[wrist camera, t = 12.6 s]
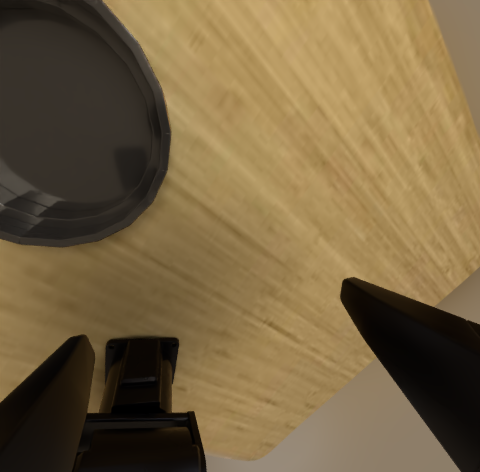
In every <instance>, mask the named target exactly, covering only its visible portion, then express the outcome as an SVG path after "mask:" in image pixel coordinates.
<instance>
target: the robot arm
mask: <svg viewBox="0 0 480 472" xmlns="http://www.w3.org/2000/svg"><path fill="white" fill-rule="evenodd" d="M340 299H341V302H342V304H343V305H344V307H345V309H346V310H347V312H348V314H349V316H350V317H351V319H352V321H353V322H354V324H355V326H356V327H357V329H358V331H359V332H360V334H361V335H362V337H363V338H364V340H365V341H366V343H367V344H368V346H369V347H370V348H371V350H372V351H373V352H374V354H375V355H376V356H377V358H378V359H379V360H380V362H381V363H382V365H383V366H384V367H385V369H386V370H387V371H388V373H389V374H390V376H391V377H392V378H393V380H394V381H395V382H396V384H397V385H398V386H399V388H400V389H401V390H402V392H403V393H404V395H405V396H406V397H407V399H408V400H409V401H410V403H411V404H412V406H413V407H414V408H415V410H416V411H417V412H418V414H419V415H420V417H421V418H422V419H423V420H424V422H425V423H426V425H427V426H428V427H429V429H430V430H431V431H432V433H433V434H434V436H435V437H436V438H437V440H438V441H439V442H440V444H441V445H442V446H443V448H444V449H445V450H446V452H447V453H448V455H449V456H450V457H451V459H452V460H453V461H454V463H455V464H456V466H457V467H458V468H459V470H460V471H461V472H480V324H477V323H474V322H472V321H469V320H467V321H466V320H465V319H464V318H461V317H458V316H456V315H453V314H450V313H448V312H445V311H443V310H440V309H437V308H435V307H432V306H429V305H427V304H424V303H421V302H419V301H416V300H413V299H411V298H408V297H405V296H403V295H400V294H398V293H395V292H392V291H390V290H387V289H384V288H382V287H379V286H376V285H374V284H371V283H368V282H366V281H363V280H360V279H358V278H355V277H351V278H347V279H344V280H343V282H342V287H341V294H340ZM173 343H175V344H173ZM111 345H114V346H111ZM178 348H179V340H178V339H177V338H157V339H119V340H110V341H108V342H107V345H106V362H105V389H104V393H103V397H102V401H101V405H100V409H99V413H87V409H88V403H89V397H90V390H91V383H92V376H93V370H94V363H95V353H94V350H93V348H92V346H91V344H90V342H89V339H88V337H87V336H86V335H78V336H73V337H70V338H69V339H68V340H67V341H65V342H64V343H63V344H62V345H61V346H60V347H59V348H58V349H57V350H56V351H55V352H54V353H53V354H52V355H51V356H49V357H48V358H47V359H46V360H45V361H44V362H43V363H42V364H41V365H40V366H39V367H38V368H37V369H36V370H35V371H34V372H32V373H31V374H30V375H29V376H28V377H27V378H26V379H25V380H24V381H23V382H22V383H21V384H20V385H19V386H18V387H16V388H15V389H14V390H13V391H12V392H11V393H10V394H9V395H8V396H7V397H6V398H5V399H4V400H3V401H2V402H1V403H0V472H207V471H206V460H205V454H204V450H203V446H202V442H201V438H200V433H199V429H198V425H197V421H196V417H195V413H194V411H188V412H187V413H172V384H173V379H174V373H175V367H176V361H177V354H178Z"/></svg>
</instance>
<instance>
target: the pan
mask: <svg viewBox="0 0 480 472" xmlns="http://www.w3.org/2000/svg"><path fill="white" fill-rule="evenodd" d="M170 142H171V126H170V121H169V116H168V111H167V105H166V100H165V96H164V93H163V90H162V88H161V86H160V84H159V82H158V80H157V78H156V76H155V74H154V72H153V70H152V68H151V66H150V64H149V62H148V60H147V58H146V56H145V54H144V52H143V50H142V48H141V46H140V44H139V43H138V41H137V40H136V39H135V38H134V37H133V36H132V34H131V33H130V32H129V31H128V30H127V29H126V27H125V26H124V25H123V24H122V23H121V22H120V20H119V19H118V18H117V17H116V16H115V15H114V13H113V12H112V11H111V10H110V9H109V8H108V6H107V5H106V4H105V3H104V2H103V1H102V0H0V239H3V240H6V241H10V242H13V243H16V244H21V245H34V246H48V247H68V246H73V245H79V244H84V243H90V242H96V241H99V240H102V239H104V238H106V237H108V236H110V235H112V234H114V233H116V232H118V231H120V230H122V229H124V228H126V227H128V226H129V225H131V224H132V223H133V222H134V221H135V220H136V219H137V218H138V217H139V216H140V215H141V214H142V213H143V212H144V211H145V210H146V209H147V208H148V207H149V206H150V205H151V204H152V202H153V201H154V199H155V197H156V195H157V193H158V190H159V188H160V186H161V184H162V182H163V180H164V178H165V175H166V173H167V170H168V161H169V151H170Z"/></svg>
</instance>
